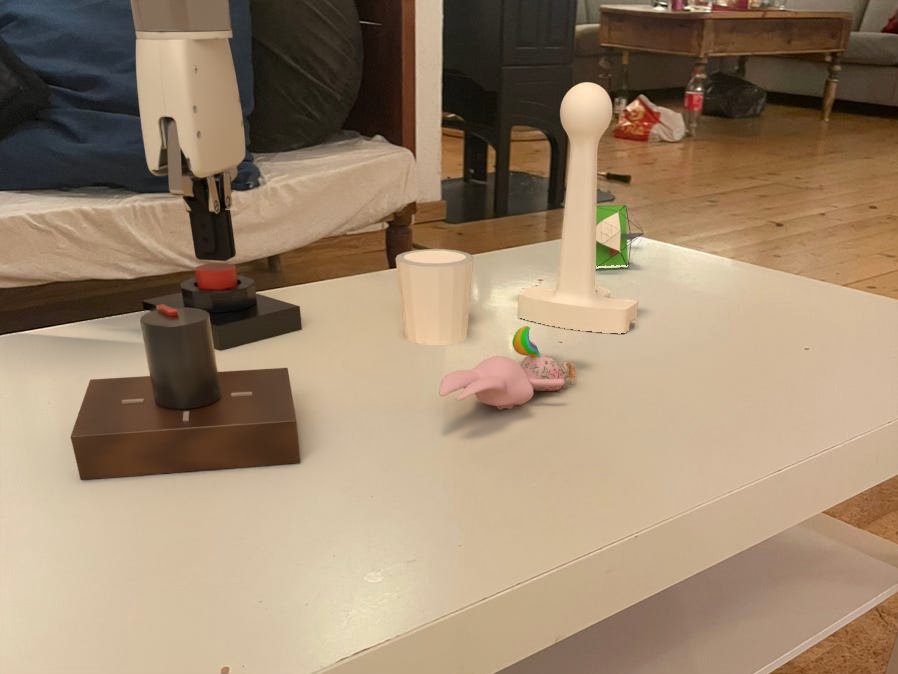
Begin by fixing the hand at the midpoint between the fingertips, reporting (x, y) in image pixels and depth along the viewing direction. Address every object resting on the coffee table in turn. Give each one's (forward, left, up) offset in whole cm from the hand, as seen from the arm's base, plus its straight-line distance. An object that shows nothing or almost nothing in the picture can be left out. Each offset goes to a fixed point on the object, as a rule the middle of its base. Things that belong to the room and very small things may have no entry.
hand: (216, 257), depth 89 cm
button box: (0, 0, -6) cm, 6 cm away
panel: (+10, -26, -6) cm, 29 cm away
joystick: (+32, +11, -6) cm, 34 cm away
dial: (+10, -26, -3) cm, 28 cm away
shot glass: (+20, +2, -6) cm, 21 cm away
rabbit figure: (+30, -14, -6) cm, 34 cm away
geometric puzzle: (+32, +33, -6) cm, 46 cm away
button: (0, 0, -3) cm, 3 cm away
